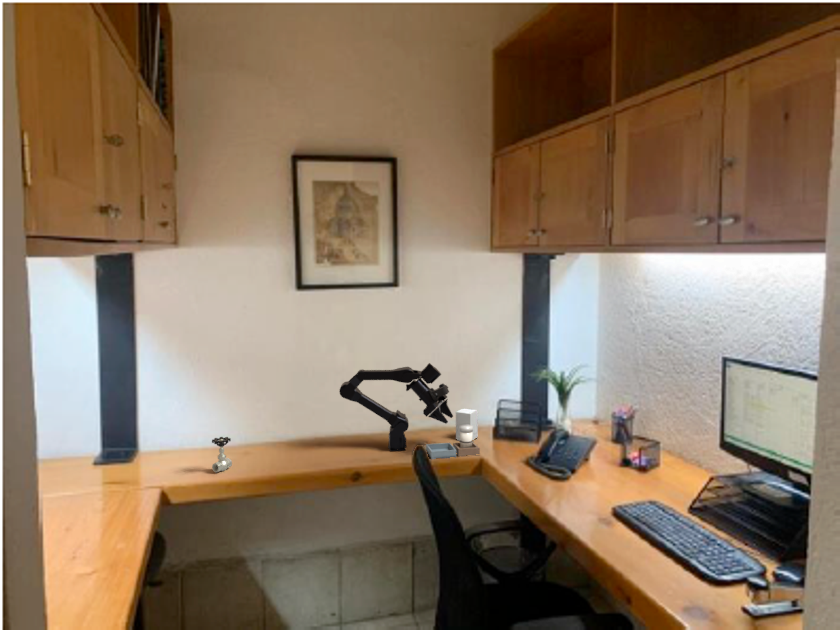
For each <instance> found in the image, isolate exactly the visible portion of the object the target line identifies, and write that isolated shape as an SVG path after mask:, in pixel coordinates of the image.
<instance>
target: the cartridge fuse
mask: <svg viewBox="0 0 840 630" xmlns="http://www.w3.org/2000/svg"><path fill="white" fill-rule="evenodd" d="M472 432H473V426H472V425H468V424H463V425H460V440H459V443H460V449H461V448H472V442H473V441H472Z"/></svg>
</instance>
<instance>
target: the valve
mask: <svg viewBox="0 0 840 630" xmlns="http://www.w3.org/2000/svg"><path fill="white" fill-rule="evenodd" d="M229 442H231V438H230V437H228V436H226V437H223V436H219V438H218V437H214V438H213V439H211V444H214V445H216V446H218V447H219V448H218V452H219V454H218V455H217V462H214V463H212V466H211V468H212V471H213V472H215V474H216V473H218V472H224V471H226V470H227V469H229V468H231V467H232V466H233V462H232V460H231V458H229V457H227V455H226V454H225V448H224V446H225V445H227V444H228V443H229Z"/></svg>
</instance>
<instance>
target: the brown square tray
mask: <svg viewBox="0 0 840 630" xmlns="http://www.w3.org/2000/svg"><path fill="white" fill-rule="evenodd" d="M452 446H453V447H454V448H455V449H456V453H457V454H456V456H458V457H459V456H461V457H467V456H466V455H475V456H477V455H476V454H481V453H480V451H481V450H480V449H481V448H480V447H479V446H478V444H476V443H475V442H474V441H472V448H461V449H460V442H453V443H452Z"/></svg>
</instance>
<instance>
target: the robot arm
mask: <svg viewBox="0 0 840 630" xmlns="http://www.w3.org/2000/svg"><path fill="white" fill-rule="evenodd" d="M441 375H442V373H441V372H440V370H439V369H437V368H436V367H435V366H434V365H433V364H431V363H430V362H429V363H428V364H427V365H426V366H425V367H424V368H423V369H422V370H417V369H413V368H412V367H410V366H402V367H397V368H394V369H359V370H358V371H357V372H356V373H355V374H354V375H353V377H351V378H350V379H349V380H348V381H344V382H343V383H342V384H341V385H340V387H339V395H340V397H341V398H343V399H346V400H348V401H351V402H354V403H358V404H359V405H360V406H362V407H364V408H365V409H367V410H369V411H371V412H372V413H374V414H375V415H377V416H379V417H380V418H381V419H383V420H385V421H386V422H387V423H388V424H389V425H390V427H389V433H388V445H387V448H388V449H389V452H398V451H406V450H407V449H406V448H407V437H406V435H405V432H406V431H408V429H409V419H408V417H407V416H406V413H403V412H401V411H400V410H399V409H397V410H396V412H395V411H392V410H390V409H388V408H387V407H385V406H384V405H382V404H381V403H379V402H377V401H376V400H374V399H373V398H370V397H369V396H368V395H366V394H364V393H363V392H362V390H360V389H359V386H360V384H362V382H364V381H395V382H397V383H403V384H404V383H405V384H406V385H405V386H406V387H405V388H406V389H405V391H406V392H408V391H409V392H410V390H412V392H414V393H415V395H416V396H417V397H418V398H419V399H418V400H419V401H420V402H423V403H424V404H425V408H424V409H423V410H422V411H423V413H422V414H423V415H424V416H425V417H428V418H430V419H431V418H432V419H434V420H436V421H439V422H442V423H443V424H445V425H446V424H448V422H449V421H448V420H447V418H446V417H445V416H447V417H448V418H451V419H452V418H453V417H454V415H453V413H452V411H451V409H450V407H449V404H448V396H447V395H448V394H449V393H450V390H449V386H448V385H447V384H444V383H440V384H439V385H438V388H436V389H434V388H433V387H429V386H428V384H434V382H435V381H436V380H438V379H439V377H441Z"/></svg>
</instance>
